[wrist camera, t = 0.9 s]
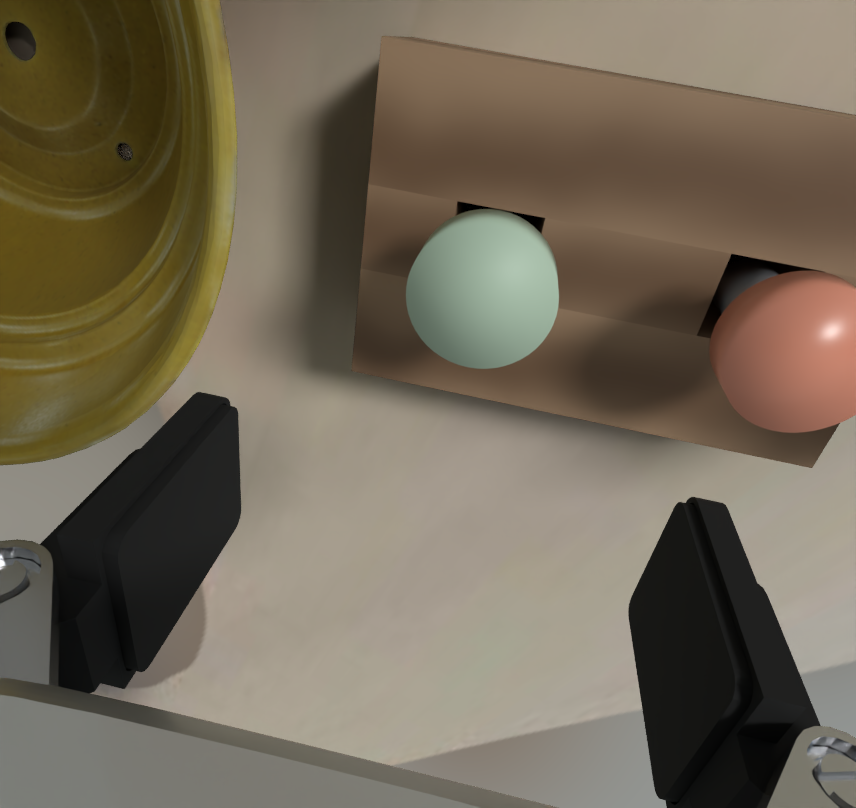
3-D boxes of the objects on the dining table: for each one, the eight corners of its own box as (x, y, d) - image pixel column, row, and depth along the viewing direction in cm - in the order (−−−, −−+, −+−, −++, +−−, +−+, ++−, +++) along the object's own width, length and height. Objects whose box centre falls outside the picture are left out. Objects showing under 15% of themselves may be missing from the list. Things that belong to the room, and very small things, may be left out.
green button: (447, 168, 26) (416, 209, 19) (568, 190, 25) (577, 240, 19) (429, 283, 28) (397, 352, 22) (538, 305, 28) (537, 381, 22)
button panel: (412, 37, 27) (381, 36, 22) (917, 126, 26) (1010, 146, 20) (379, 322, 34) (351, 370, 29) (770, 402, 33) (812, 468, 28)
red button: (707, 216, 25) (763, 276, 19) (834, 241, 25) (936, 309, 18) (663, 329, 28) (699, 415, 21) (777, 352, 27) (848, 446, 21)
